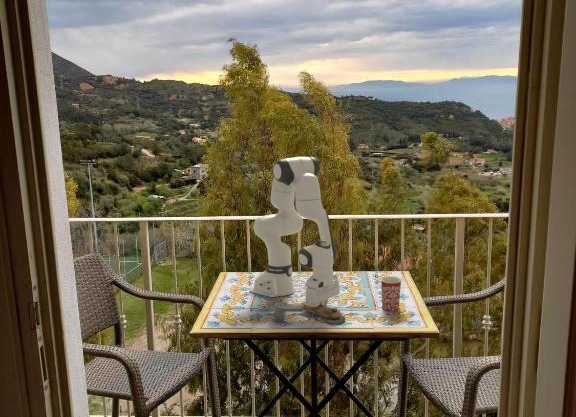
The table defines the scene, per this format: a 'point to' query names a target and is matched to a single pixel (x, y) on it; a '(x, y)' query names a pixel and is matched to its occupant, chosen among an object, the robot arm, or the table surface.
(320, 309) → the walnut link
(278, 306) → the keeper
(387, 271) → the table surface
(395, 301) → the mug
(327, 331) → the table surface
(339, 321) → the pivot base
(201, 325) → the table surface
